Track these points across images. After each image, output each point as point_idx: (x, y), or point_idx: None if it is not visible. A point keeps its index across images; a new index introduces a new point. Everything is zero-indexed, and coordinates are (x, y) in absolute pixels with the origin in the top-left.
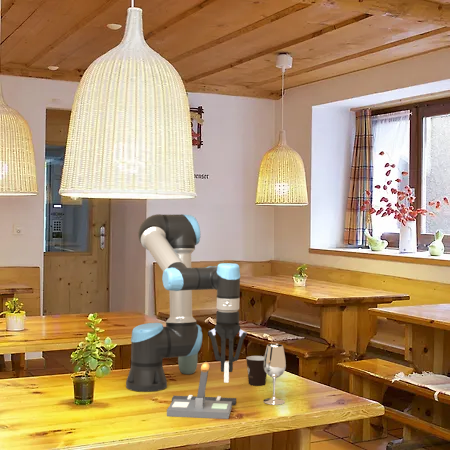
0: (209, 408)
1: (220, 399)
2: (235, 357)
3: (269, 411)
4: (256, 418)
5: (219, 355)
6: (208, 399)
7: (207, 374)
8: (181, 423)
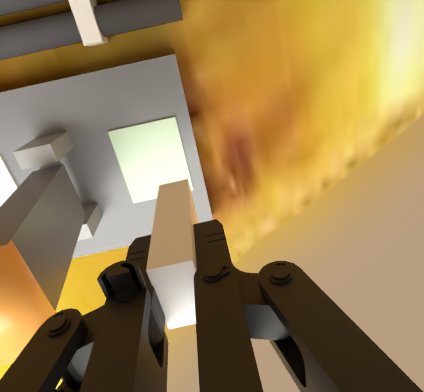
0: (126, 202)
1: (100, 22)
2: (287, 353)
3: (346, 60)
4: (304, 175)
5: (71, 344)
6: (39, 41)
7: (39, 247)
8: (93, 301)
